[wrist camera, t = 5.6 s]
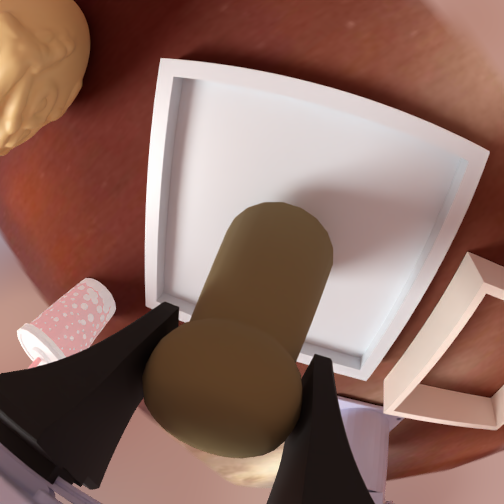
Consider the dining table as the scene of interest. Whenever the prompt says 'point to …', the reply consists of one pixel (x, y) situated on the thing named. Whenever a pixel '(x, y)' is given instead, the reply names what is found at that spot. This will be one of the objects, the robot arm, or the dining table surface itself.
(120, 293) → the dining table surface
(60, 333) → the beverage cup
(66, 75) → the sculpture
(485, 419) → the cream bin
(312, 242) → the cork
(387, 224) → the light grey tray
